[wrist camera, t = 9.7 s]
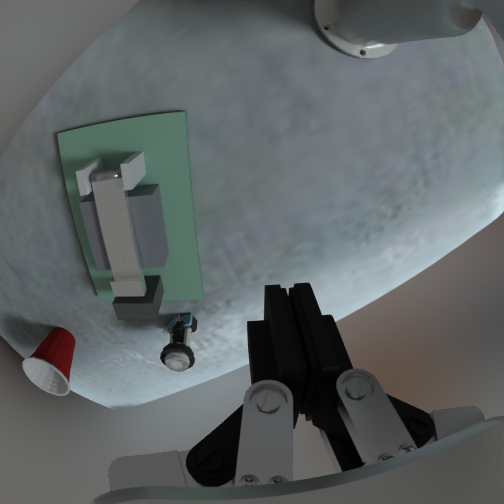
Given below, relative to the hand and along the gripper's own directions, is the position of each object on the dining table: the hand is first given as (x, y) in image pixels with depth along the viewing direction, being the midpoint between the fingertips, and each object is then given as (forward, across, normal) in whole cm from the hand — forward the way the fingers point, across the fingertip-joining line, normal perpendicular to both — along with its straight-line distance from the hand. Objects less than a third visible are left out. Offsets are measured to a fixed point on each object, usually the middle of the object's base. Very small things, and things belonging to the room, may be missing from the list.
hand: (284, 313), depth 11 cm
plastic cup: (+29, +39, +33) cm, 59 cm away
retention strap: (+23, +16, +8) cm, 29 cm away
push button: (+29, +12, +28) cm, 42 cm away
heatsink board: (+29, +16, +8) cm, 34 cm away
